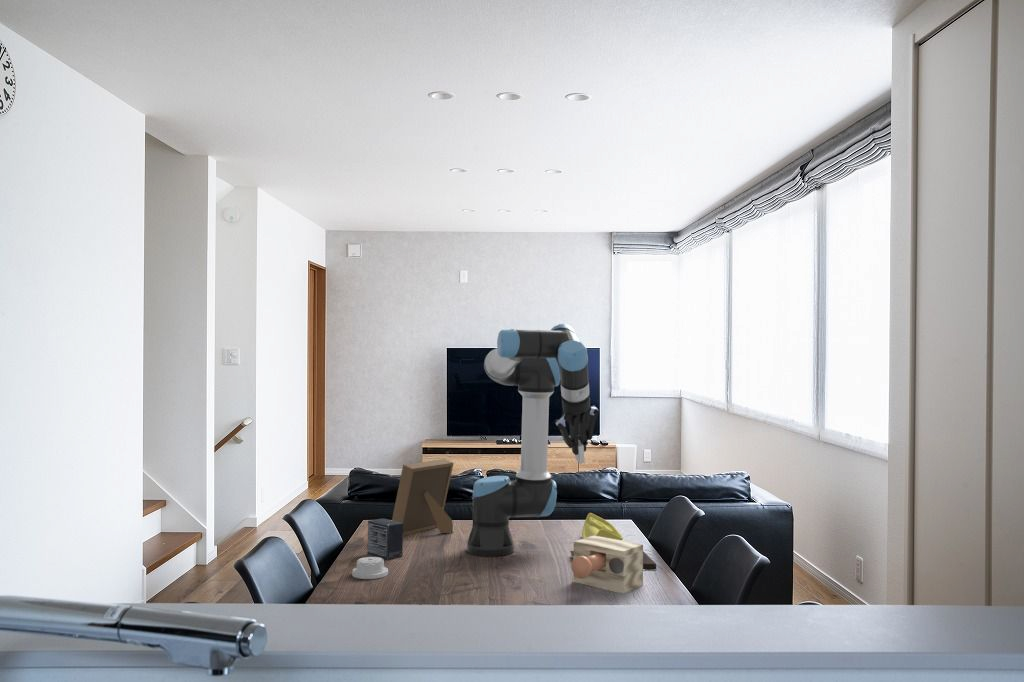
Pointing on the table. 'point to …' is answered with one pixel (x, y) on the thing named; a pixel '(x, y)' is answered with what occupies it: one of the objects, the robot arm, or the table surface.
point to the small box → (385, 538)
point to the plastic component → (599, 528)
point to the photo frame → (423, 497)
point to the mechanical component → (370, 568)
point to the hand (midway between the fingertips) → (579, 460)
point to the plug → (588, 564)
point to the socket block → (612, 563)
